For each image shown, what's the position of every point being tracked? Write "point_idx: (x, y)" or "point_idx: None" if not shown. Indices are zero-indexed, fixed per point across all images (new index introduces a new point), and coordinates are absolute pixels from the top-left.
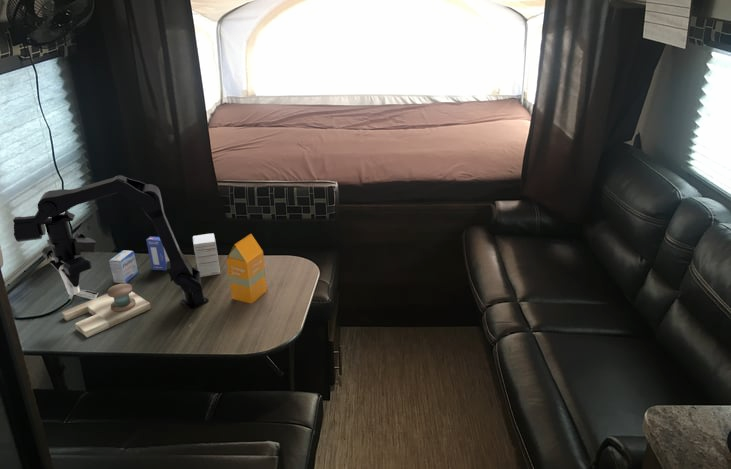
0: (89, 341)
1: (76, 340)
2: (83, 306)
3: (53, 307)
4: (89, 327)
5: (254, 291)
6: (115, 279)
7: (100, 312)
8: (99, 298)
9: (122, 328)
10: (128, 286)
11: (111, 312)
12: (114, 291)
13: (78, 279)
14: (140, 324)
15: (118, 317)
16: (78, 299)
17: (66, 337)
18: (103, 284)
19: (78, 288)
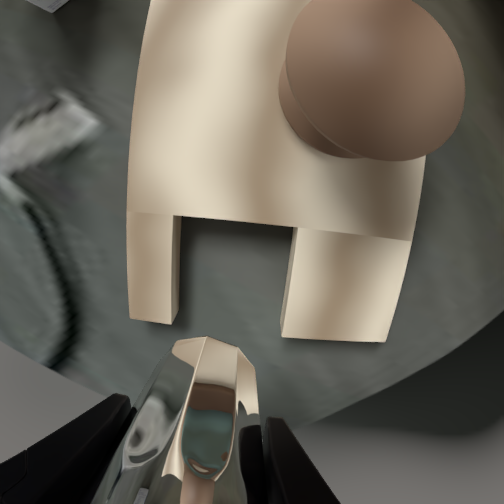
0: (403, 332)
1: (353, 356)
2: (157, 228)
3: (39, 278)
4: (374, 317)
5: None
6: (51, 2)
7: (301, 209)
8: (148, 127)
9: (447, 205)
10: (397, 11)
11: (354, 175)
12: (383, 108)
13: (318, 480)
14: (479, 146)
15: (421, 186)
16: (45, 181)
17: (299, 368)
18: (27, 52)
19: (246, 379)
